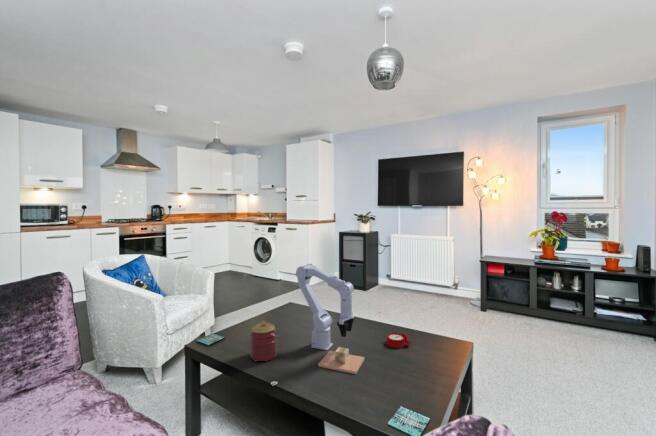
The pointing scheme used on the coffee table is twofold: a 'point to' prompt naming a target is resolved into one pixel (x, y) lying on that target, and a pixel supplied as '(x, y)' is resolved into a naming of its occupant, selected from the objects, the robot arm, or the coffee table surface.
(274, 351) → the canister
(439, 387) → the coffee table surface
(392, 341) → the alarm clock
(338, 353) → the maple cube
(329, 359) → the terracotta tile
